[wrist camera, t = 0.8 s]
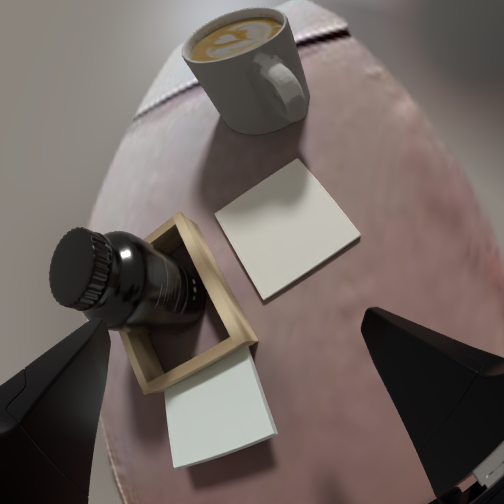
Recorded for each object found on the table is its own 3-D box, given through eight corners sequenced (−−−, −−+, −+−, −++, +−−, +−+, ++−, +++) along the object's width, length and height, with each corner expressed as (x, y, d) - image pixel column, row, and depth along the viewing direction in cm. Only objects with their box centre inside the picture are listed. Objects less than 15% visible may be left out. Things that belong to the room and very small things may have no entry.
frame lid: (290, 418, 19) (276, 436, 15) (204, 453, 20) (175, 471, 16) (245, 339, 22) (221, 338, 18) (166, 382, 23) (133, 387, 19)
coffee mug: (214, 96, 32) (175, 37, 23) (288, 64, 30) (264, -1, 21) (245, 175, 27) (196, 103, 17) (341, 133, 25) (328, 48, 16)
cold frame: (258, 341, 22) (245, 341, 19) (164, 391, 23) (144, 395, 20) (196, 224, 27) (179, 211, 24) (121, 280, 28) (101, 274, 25)
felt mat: (360, 236, 22) (360, 234, 21) (264, 300, 23) (263, 299, 22) (298, 160, 25) (297, 157, 25) (216, 215, 26) (214, 214, 26)
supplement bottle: (146, 337, 25) (37, 323, 14) (145, 267, 27) (47, 225, 16) (211, 334, 23) (102, 321, 12) (206, 255, 25) (111, 195, 14)
